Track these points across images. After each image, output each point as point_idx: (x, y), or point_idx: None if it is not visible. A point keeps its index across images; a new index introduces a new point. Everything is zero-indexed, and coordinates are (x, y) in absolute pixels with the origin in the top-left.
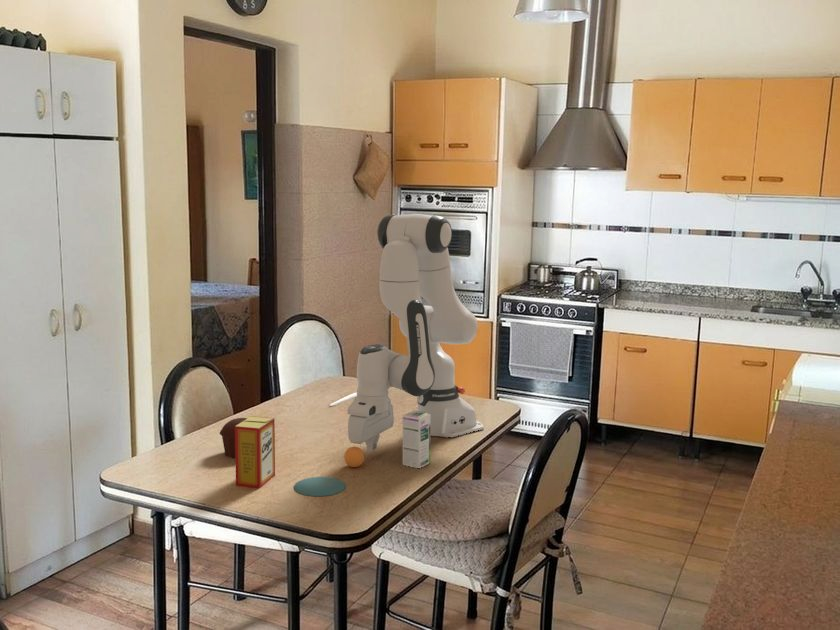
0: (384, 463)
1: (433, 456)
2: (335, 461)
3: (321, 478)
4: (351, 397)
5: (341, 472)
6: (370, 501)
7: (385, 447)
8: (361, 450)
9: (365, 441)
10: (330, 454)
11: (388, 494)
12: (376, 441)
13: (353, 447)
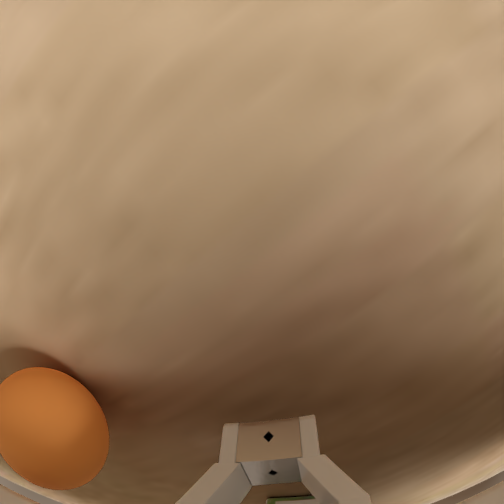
0: None
1: (417, 488)
2: (24, 253)
3: None
4: None
5: (2, 369)
6: None
7: (489, 329)
8: (69, 488)
9: (183, 502)
10: (80, 95)
11: (72, 496)
12: (315, 495)
13: (18, 473)
